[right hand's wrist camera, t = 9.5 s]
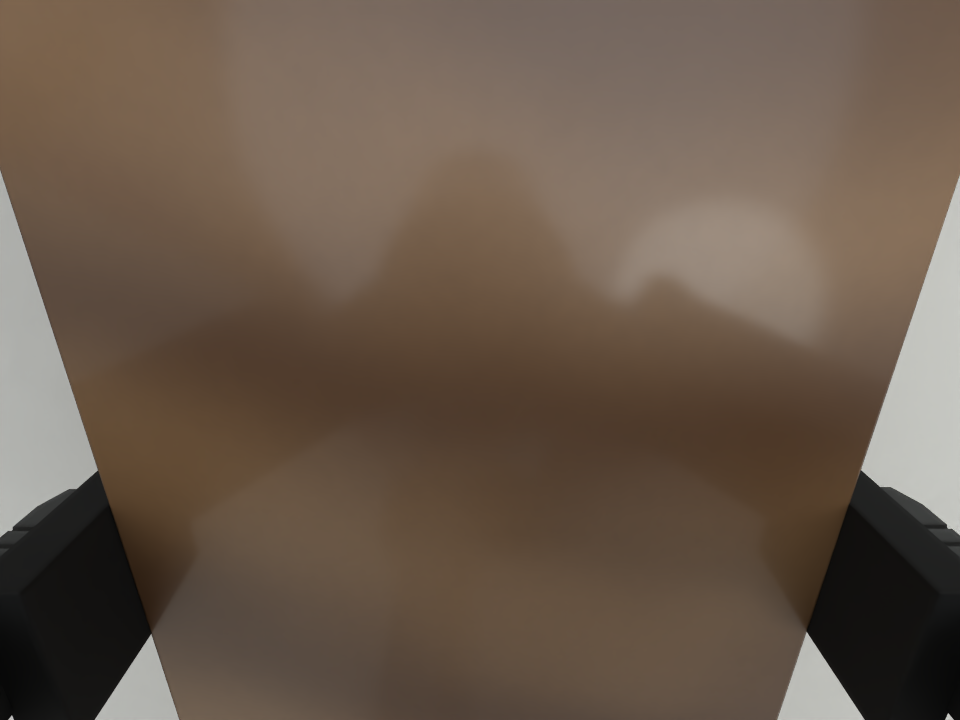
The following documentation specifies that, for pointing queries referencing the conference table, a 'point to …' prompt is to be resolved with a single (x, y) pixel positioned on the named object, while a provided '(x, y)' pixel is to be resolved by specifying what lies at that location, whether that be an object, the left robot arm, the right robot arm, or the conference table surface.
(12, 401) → the conference table surface
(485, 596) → the wooden grain block
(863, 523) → the right robot arm
